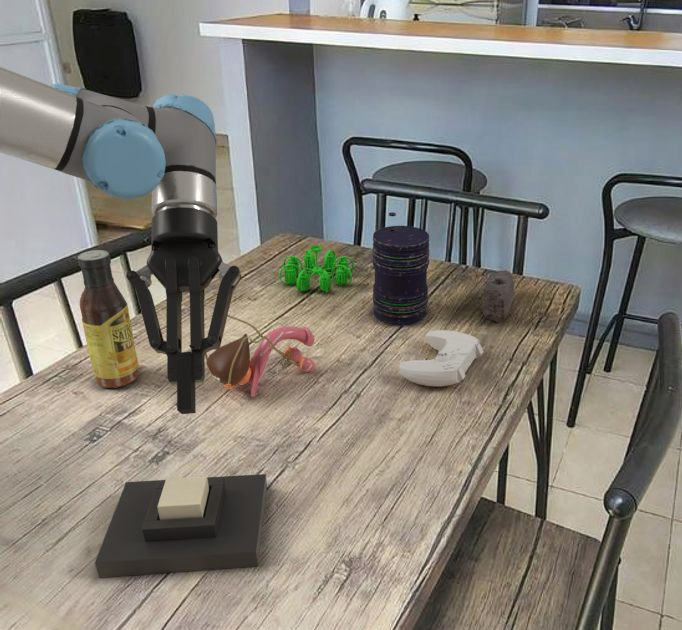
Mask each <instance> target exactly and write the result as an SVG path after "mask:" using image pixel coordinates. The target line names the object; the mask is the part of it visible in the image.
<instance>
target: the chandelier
mask: <svg viewBox="0 0 682 630" xmlns="http://www.w3.org/2000/svg"><path fill="white" fill-rule="evenodd" d="M322 251H323V247H322V246H321V245H311V246H310V248H309V249H307V250H305V253H304V257H303V262H304V265H303V262H302V261H301V259H300V258H299V257H297V256H295V255H288V256H287V257H285V258H284V259H283V261H282V267H281V268H280V270H279V273H278V278H279V280H280V282H281V283H282V284H283V285H286V286H293V285H296V289H297V291H298V292H299V293H301V294H302V293H305V292H306V291H308V290H310V285H311V277H312V276H313V275H319V279H318V280H319V289H320V290H321V291H324V293H325V294H326V293H330V290H331V289H332V280H333V281H334V283H335V284H337V285H339V286H341V287H346V286H348V285H349V284H350V283H351V282H352V280H353V271H354V269H355V263H354V261H353V260H352V258H350V257H348V256H346V255H345V256H344V255H343V256H338V258H337V255H336V252H335V251H334V250H332V249H329V250H328V251H327V252H326V253H325V255H324V258H323V265H321V266H320V267H319V260H318V259H319V258H318V253H320V252H322ZM287 259H288V260H287ZM286 261H287V264H286ZM349 261H351V269H350V264H349ZM337 262H338V263H337ZM299 265H300V266H299ZM283 271H284V273H283V274H284V281H283V279H282V277H281V275H282V272H283ZM310 273H311V274H310ZM348 276H349V281H348Z"/></svg>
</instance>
